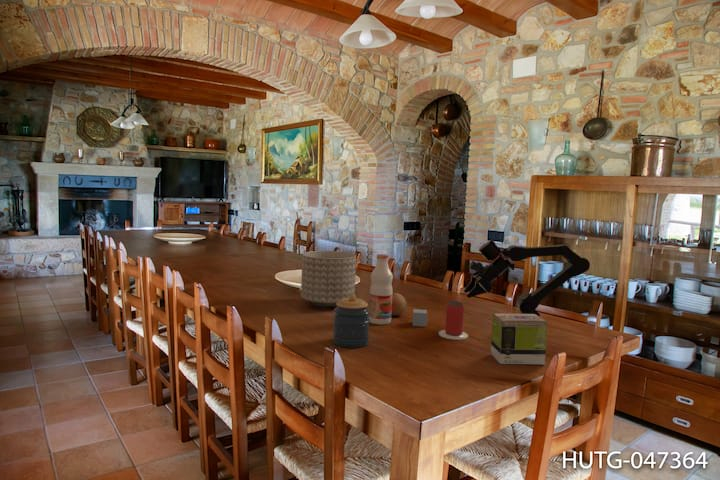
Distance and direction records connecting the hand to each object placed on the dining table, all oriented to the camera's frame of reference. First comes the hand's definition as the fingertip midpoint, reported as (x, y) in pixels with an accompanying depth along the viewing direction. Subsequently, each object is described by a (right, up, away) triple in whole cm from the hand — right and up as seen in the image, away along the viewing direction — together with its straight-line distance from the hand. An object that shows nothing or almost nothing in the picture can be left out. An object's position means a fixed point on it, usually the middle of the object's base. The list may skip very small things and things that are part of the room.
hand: (465, 294), depth 191 cm
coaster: (-7, -14, -10) cm, 19 cm away
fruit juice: (-35, -12, +5) cm, 37 cm away
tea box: (+9, -18, -35) cm, 40 cm away
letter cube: (-18, -13, +3) cm, 23 cm away
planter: (-58, -9, +30) cm, 66 cm away
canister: (-46, -15, -23) cm, 54 cm away
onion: (-28, -11, +15) cm, 34 cm away
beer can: (-7, -14, -10) cm, 19 cm away
